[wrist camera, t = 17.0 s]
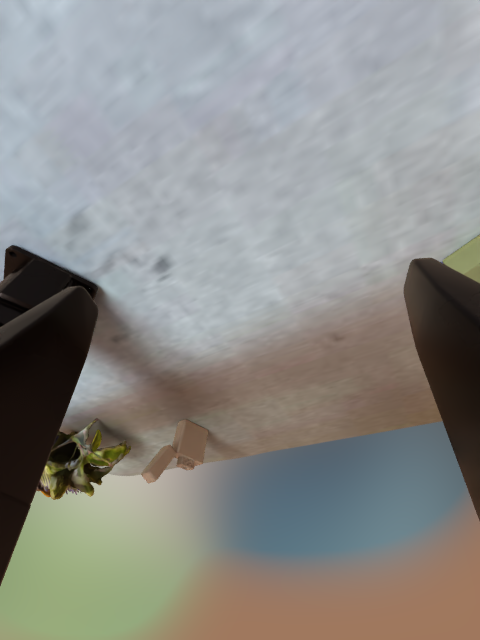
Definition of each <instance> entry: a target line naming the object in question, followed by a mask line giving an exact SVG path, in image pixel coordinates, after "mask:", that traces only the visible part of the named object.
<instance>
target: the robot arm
mask: <svg viewBox="0 0 480 640" xmlns="http://www.w3.org/2000/svg"><path fill="white" fill-rule="evenodd" d="M89 288H90V289H89ZM97 291H98V288H97V286H96V285H95V284H93V283H91V282H89V281H87V280H85V279H83V278H81V277H79V276H77V275H75V274H72V273H70V272H68V271H66V270H64V269H62V268H60V267H58V266H56V265H54V264H52V263H50V262H48V261H46V260H44V259H42V258H40V257H38V256H35V255H33V254H31V253H29V252H27V251H25V250H23V249H21V248H19V247H17V246H14V245H11V246H10V247H8V248H7V249H6V253H5V268H4V280H3V281H2V282H0V586H1V583H2V580H3V578H4V575H5V572H6V570H7V567H8V564H9V562H10V559H11V557H12V554H13V551H14V548H15V546H16V543H17V541H18V538H19V535H20V533H21V530H22V527H23V525H24V522H25V520H26V517H27V514H28V511H29V509H30V506H31V505H30V504H31V503H32V500H33V498H34V495H35V492H36V490H37V487H38V485H39V482H40V479H41V477H42V474H43V471H44V469H45V466H46V463H47V461H48V458H49V456H50V453H51V450H52V448H53V445H54V442H55V440H56V437H57V434H58V432H59V429H60V427H61V424H62V421H63V419H64V416H65V413H66V411H67V408H68V405H69V403H70V400H71V398H72V395H73V392H74V390H75V387H76V384H77V382H78V379H79V377H80V374H81V371H82V369H83V366H84V363H85V360H86V358H87V354H88V351H89V347H90V344H91V340H92V336H93V332H94V328H95V325H96V321H97V317H98V307H97V305H96V303H95V302H94V298H95V296H96V293H97ZM404 297H405V302H406V306H407V311H408V316H409V320H410V325H411V329H412V334H413V338H414V342H415V346H416V349H417V352H418V355H419V358H420V361H421V363H422V366H423V369H424V372H425V374H426V377H427V380H428V382H429V385H430V388H431V391H432V393H433V396H434V399H435V401H436V404H437V407H438V409H439V412H440V415H441V418H442V420H443V423H444V426H445V428H446V431H447V434H448V437H449V439H450V442H451V445H452V447H453V450H454V453H455V455H456V458H457V461H458V463H459V466H460V469H461V472H462V474H463V477H464V480H465V482H466V485H467V488H468V491H469V493H470V496H471V499H472V502H473V504H474V507H475V510H476V512H477V515H478V518H479V520H480V283H478V282H477V281H475V280H473V279H471V278H469V277H467V276H465V275H463V274H462V273H460V272H458V271H456V270H454V269H452V268H450V267H448V266H447V265H445V264H443V263H441V262H439V261H437V260H435V259H433V258H419V259H414V260H412V261H411V263H410V265H409V269H408V273H407V277H406V281H405V284H404Z"/></svg>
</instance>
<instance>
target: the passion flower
mask: <svg viewBox="0 0 480 640" xmlns="http://www.w3.org/2000/svg"><path fill="white" fill-rule="evenodd" d="M97 420H98V419H95V420H94V421H93V422H92V423H90V424H89V425H88V426H87V427H86V428H85V429H83V430H82V431H81V432H79V433H78V434H77V433H75V432H72V433H71V434H69V435H67V434H65V433H62V432H60V431H59V432H58V434H57V437H56V440H55V442H54V445H53V448H52V450H51V453H50V456H49V458H48V461H47V463H46V466H45V469H44V471H43V474H42V477H41V479H40V482H39V485H38V487H37V490H36V491H41V492H42V493H43V494H44V495H45V496H47V497H51V498H52V499H53V500H55V499H59V498H61V497H62V496H63V494H64V493H65V491H66V493H67V490H68V491H72V493H73V492H75V493H76V491H77V492H79V491H78V490H80V491H81V492H85V493H86V494H87V495H88V496H90V497H91V496H92V495H93V494H94V488H93V486H92V485H91V484H90V482H94V483H97V484H98V485H101V483H102V481H101V478H102V477H103V476H104V475H106V474H108V473H109V472H110V471H111V470H112V468H113V466H114V465H115V464H117V463H118V462H119V461H120V460H121V459H123V458H124V456H125V455H126V454H127V453H129V451H130V450H131V446H129V447H127V446H126V441H124V442H123V443H120V444H119V445H117V446H113V447H109V448H100V449H97V448H98V447H99V446H100V443H101V440H102V435H101V432H100V430H97V431H96V435H95V437H94V440H93V442H92V443H91V444H90V445H86V443H85V442H86V440H87V438H88V437H89V434H88V432H89V429H90V427H91V426H92V424H93V423H95V422H96V421H97ZM82 445H83V446H84V447H85V448H83V447H82ZM78 448H79V449H80V450H79V449H78ZM90 463H91V465H93V466H109V467H105V468H99V467H93V466H91V465H90ZM77 489H78V490H77ZM76 494H77V493H76Z"/></svg>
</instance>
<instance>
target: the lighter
mask: <svg viewBox="0 0 480 640" xmlns="http://www.w3.org/2000/svg"><path fill="white" fill-rule="evenodd" d="M207 437H208V430H206V429H204V428H202V427H200V426H198V425H196V424H194V423H192V422H190V421H188V420H186V419H184V420H182V421H180V422H178V426H177V430H176V434H175V437H174V441H173V445H172V446H171V445H167V446H164V447H163V448H162V449H161V450H160V451H159V452H158V454H157V455H156V456H155V457H154V458H153V460H152V461H151V462H150V463H149V465H148V466H147V467H146V468H145V469H144V471H143V472H142V473H141V475H142V476H143V478H144V479H145V480H146V481H147V482H148V483H151V482H155V481H156V480H157V479H158V477H159V476H160V475H161V474H162V472H163V471H164V470H165V468H166V467H167V466H168V464H169V463H170V462H171V460H172V459H173V458H174V457H175V458H177V459H178V461H177V465H176V466H178V467H180V468H183V469H185V470H192V469H194V466H197V465H200V464H203V459H204V453H205V448H206V442H207Z"/></svg>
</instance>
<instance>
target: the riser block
mask: <svg viewBox="0 0 480 640" xmlns="http://www.w3.org/2000/svg"><path fill="white" fill-rule="evenodd" d="M443 263H444V264H445V265H447V266H448V267H450V268H452V269H454V270H456V271H458V272H460V273H462V274H463V275H465V276H467V277H469V278H471V279H473V280H475V281H477V282H478V283H480V235H479V236H477V237H476V238H474V239H473V240H471V241H470V242H468V243H467V244H466V245H464V246H463V247H461V248H460V249H458V250H457V251H455V252H454V253H453V254H451V255H450V256H448V257H447V258H445V259H444V260H443Z"/></svg>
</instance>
